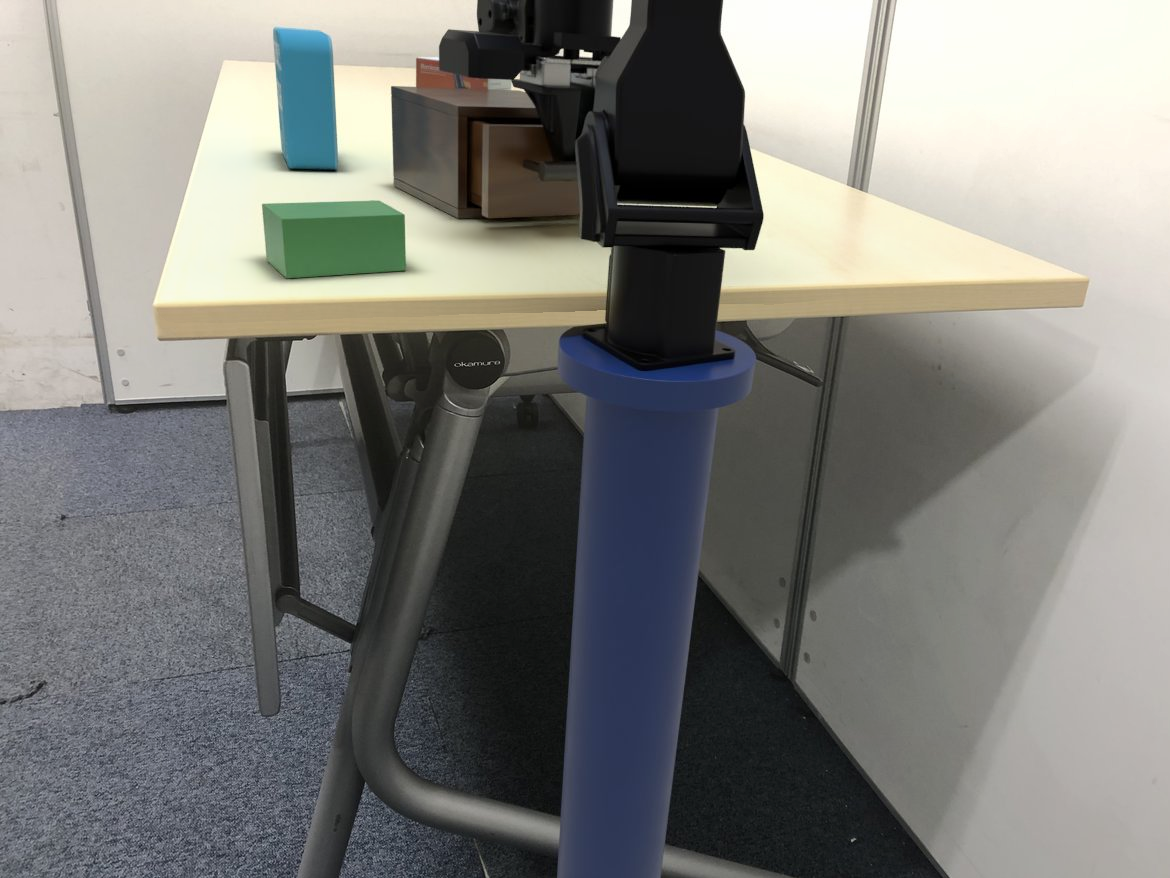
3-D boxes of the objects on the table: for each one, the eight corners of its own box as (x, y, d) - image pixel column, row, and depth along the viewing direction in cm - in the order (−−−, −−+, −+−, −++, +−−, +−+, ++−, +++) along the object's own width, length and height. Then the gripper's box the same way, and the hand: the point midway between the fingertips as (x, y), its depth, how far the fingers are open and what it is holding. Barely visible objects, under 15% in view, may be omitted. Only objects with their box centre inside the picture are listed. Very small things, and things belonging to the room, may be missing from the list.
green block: (406, 270, 63) (405, 214, 62) (286, 278, 59) (281, 218, 58) (381, 254, 67) (379, 200, 65) (266, 260, 63) (261, 203, 61)
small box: (414, 168, 100) (412, 56, 95) (441, 162, 104) (441, 55, 100) (486, 178, 98) (487, 64, 93) (510, 172, 102) (512, 63, 98)
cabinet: (591, 213, 86) (598, 109, 82) (457, 218, 79) (458, 106, 76) (516, 183, 97) (519, 90, 93) (393, 186, 90) (390, 85, 86)
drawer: (640, 224, 79) (647, 135, 76) (512, 230, 73) (514, 134, 70) (537, 184, 92) (540, 107, 89) (422, 186, 86) (420, 104, 83)
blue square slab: (281, 152, 102) (272, 25, 97) (326, 153, 104) (319, 29, 99) (289, 171, 92) (279, 32, 87) (339, 172, 94) (332, 36, 89)
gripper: (626, -35, 80) (613, 162, 87) (408, -61, 71) (412, 164, 77) (707, -33, 72) (685, 185, 79) (472, -62, 62) (471, 190, 69)
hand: (565, 180), depth 76 cm, fingers closed, pressing on drawer
